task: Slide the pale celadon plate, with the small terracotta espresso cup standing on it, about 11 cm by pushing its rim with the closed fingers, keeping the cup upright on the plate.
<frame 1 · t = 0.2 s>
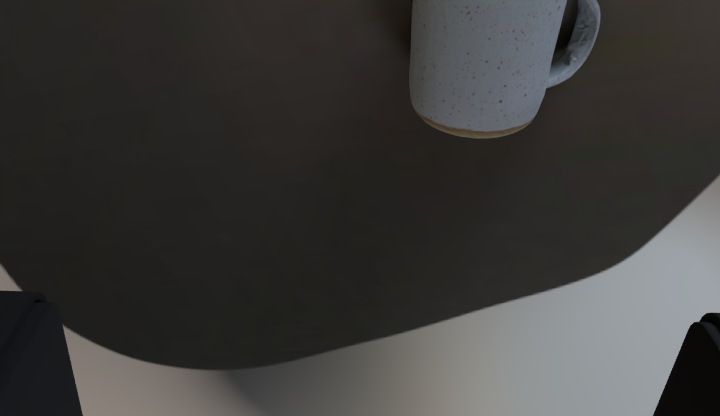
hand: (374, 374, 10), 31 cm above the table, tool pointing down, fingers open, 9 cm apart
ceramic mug: (494, 16, 39), on the table
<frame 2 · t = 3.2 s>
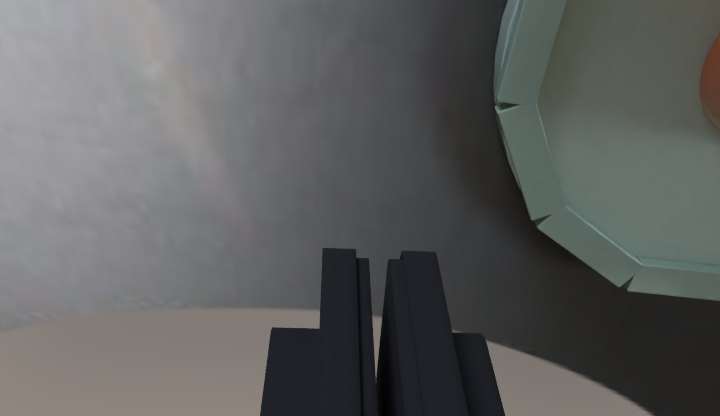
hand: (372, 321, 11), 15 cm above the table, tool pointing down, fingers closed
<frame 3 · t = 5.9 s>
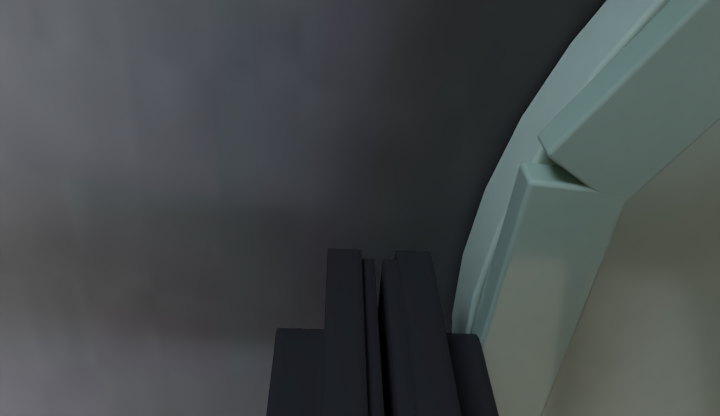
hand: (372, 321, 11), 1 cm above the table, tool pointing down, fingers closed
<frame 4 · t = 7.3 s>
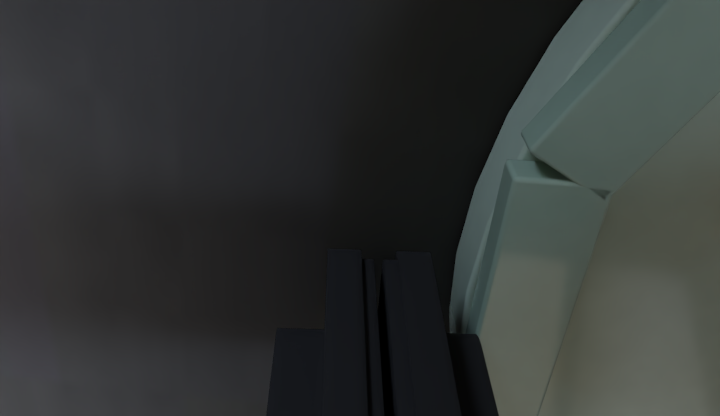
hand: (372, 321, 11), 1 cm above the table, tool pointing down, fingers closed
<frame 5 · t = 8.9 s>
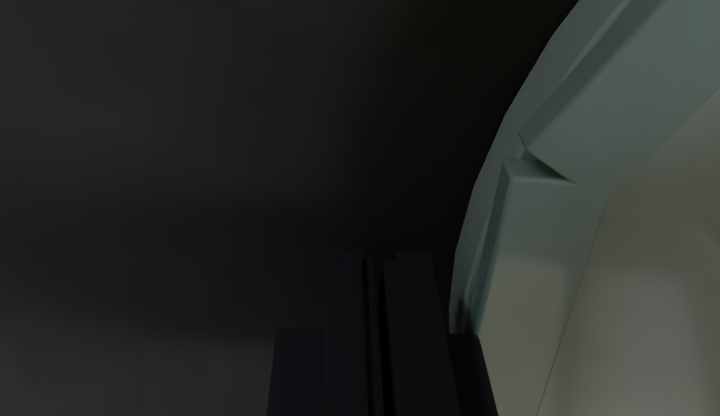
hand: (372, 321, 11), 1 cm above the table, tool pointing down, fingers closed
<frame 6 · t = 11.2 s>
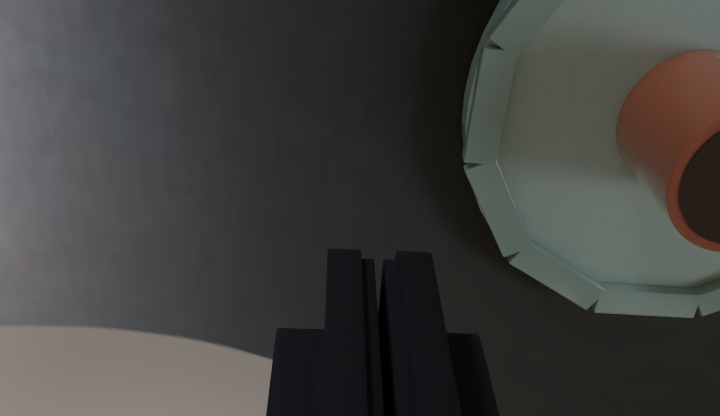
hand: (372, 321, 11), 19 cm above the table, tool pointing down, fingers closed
plate: (694, 108, 30), on the table, touching espresso cup
espresso cup: (688, 120, 28), point 1 cm above the table, touching plate
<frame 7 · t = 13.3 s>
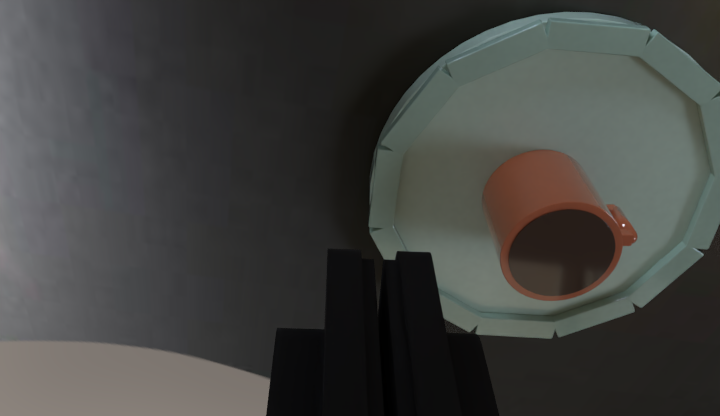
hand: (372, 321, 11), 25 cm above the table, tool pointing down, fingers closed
plate: (543, 186, 39), on the table, touching espresso cup
espresso cup: (535, 197, 38), point 1 cm above the table, touching plate
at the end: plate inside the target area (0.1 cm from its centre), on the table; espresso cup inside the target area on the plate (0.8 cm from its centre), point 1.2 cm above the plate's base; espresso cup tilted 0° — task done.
